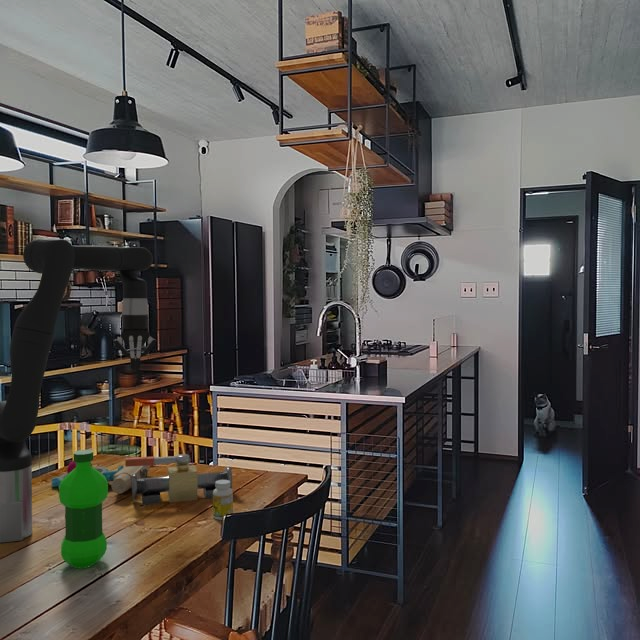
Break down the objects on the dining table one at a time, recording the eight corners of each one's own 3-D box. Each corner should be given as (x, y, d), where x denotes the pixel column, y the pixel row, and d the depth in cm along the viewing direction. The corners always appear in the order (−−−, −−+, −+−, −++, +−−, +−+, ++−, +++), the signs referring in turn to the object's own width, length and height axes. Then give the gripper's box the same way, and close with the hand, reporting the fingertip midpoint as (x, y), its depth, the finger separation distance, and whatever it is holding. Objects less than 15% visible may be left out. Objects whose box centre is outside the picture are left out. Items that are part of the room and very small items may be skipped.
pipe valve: (228, 489, 189) (228, 457, 188) (232, 496, 182) (232, 463, 182) (132, 498, 180) (132, 464, 179) (132, 506, 173) (132, 471, 173)
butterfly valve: (33, 508, 179) (135, 498, 178) (30, 485, 178) (132, 475, 178) (72, 481, 205) (160, 472, 205) (70, 461, 205) (158, 452, 204)
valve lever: (189, 460, 183) (189, 453, 183) (189, 464, 179) (189, 457, 179) (126, 463, 179) (126, 457, 179) (125, 467, 175) (125, 460, 175)
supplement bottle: (235, 518, 164) (235, 483, 164) (215, 521, 162) (215, 485, 162) (229, 512, 169) (229, 477, 169) (210, 514, 167) (210, 480, 166)
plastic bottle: (67, 554, 141) (66, 446, 140) (114, 553, 141) (113, 446, 141) (51, 574, 131) (50, 458, 130) (102, 572, 131) (101, 457, 131)
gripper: (112, 313, 180) (112, 372, 180) (158, 313, 184) (158, 371, 184) (112, 313, 187) (112, 369, 187) (157, 313, 191) (157, 368, 192)
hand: (135, 370), depth 186 cm, fingers closed
